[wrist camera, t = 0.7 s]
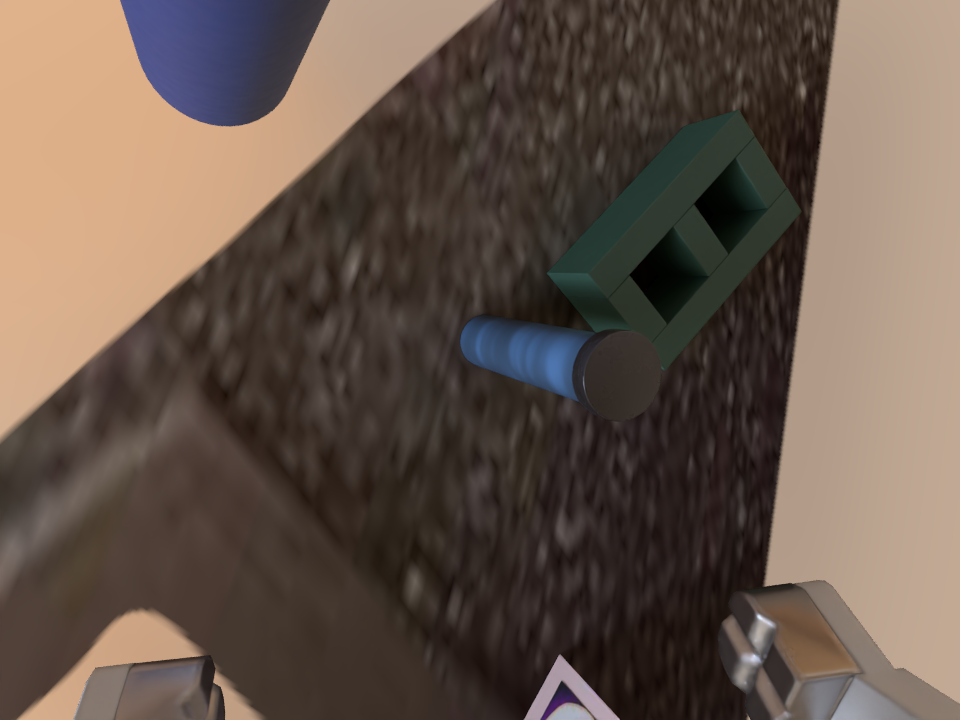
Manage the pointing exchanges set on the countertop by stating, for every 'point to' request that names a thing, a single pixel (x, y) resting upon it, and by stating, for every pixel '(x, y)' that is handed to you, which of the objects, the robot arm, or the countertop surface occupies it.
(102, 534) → the countertop surface
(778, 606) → the robot arm
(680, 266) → the holder
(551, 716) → the greeting card
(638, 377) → the handle
